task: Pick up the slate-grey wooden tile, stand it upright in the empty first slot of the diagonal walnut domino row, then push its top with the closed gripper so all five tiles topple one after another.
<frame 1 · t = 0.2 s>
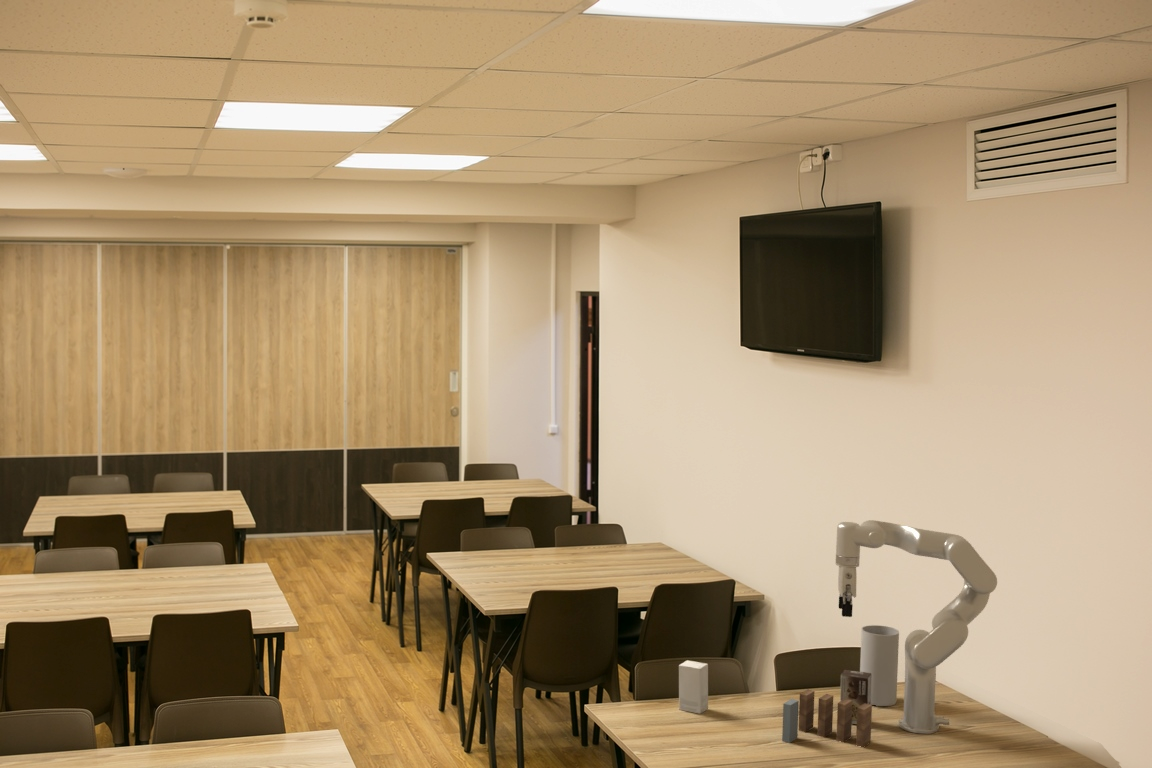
hand: (845, 612, 362), 37 cm above the table, tool pointing down, fingers open, 9 cm apart
coffee box: (854, 722, 365), on the table
domino 5: (863, 744, 346), on the table
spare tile: (789, 739, 349), on the table
cylinder vase: (877, 701, 386), on the table
domino 4: (843, 739, 350), on the table
skincare box: (692, 710, 374), on the table
domino 3: (824, 734, 354), on the table
domino 2: (805, 729, 358), on the table
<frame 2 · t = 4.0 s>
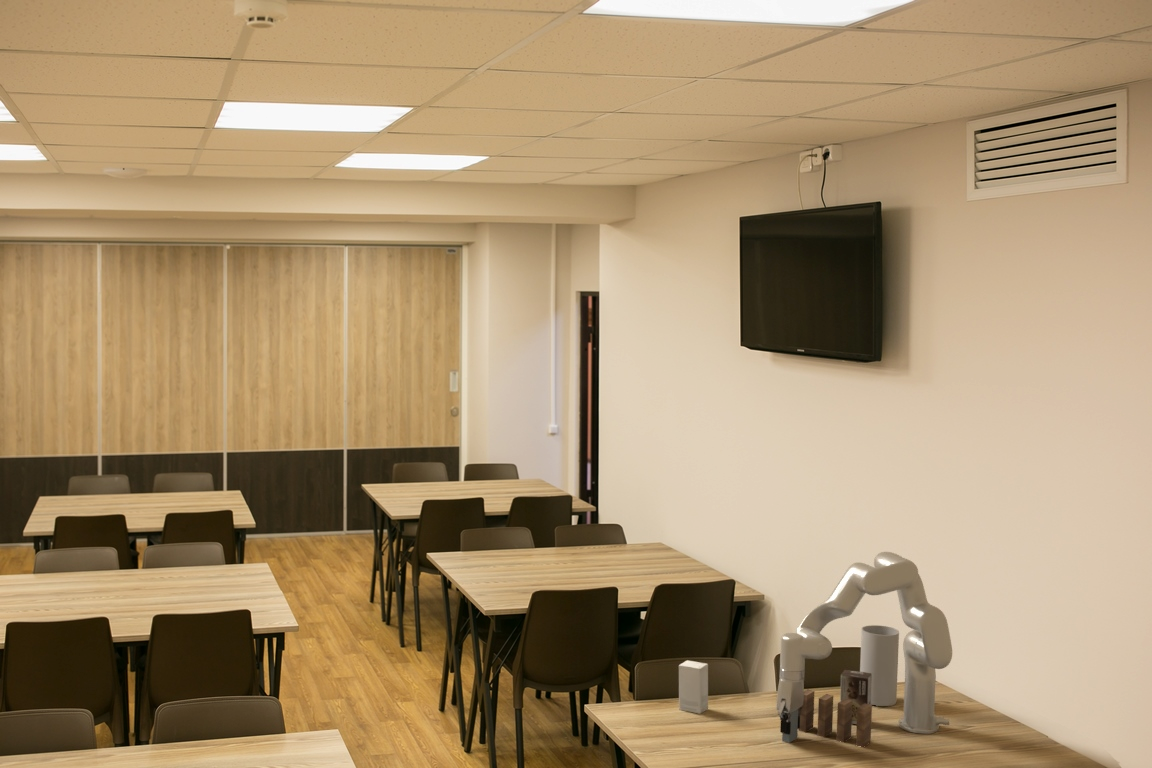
hand: (790, 730, 348), 3 cm above the table, tool pointing down, fingers closed on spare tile, 5 cm apart
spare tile: (789, 739, 349), on the table, touching gripper
everything else where it was.
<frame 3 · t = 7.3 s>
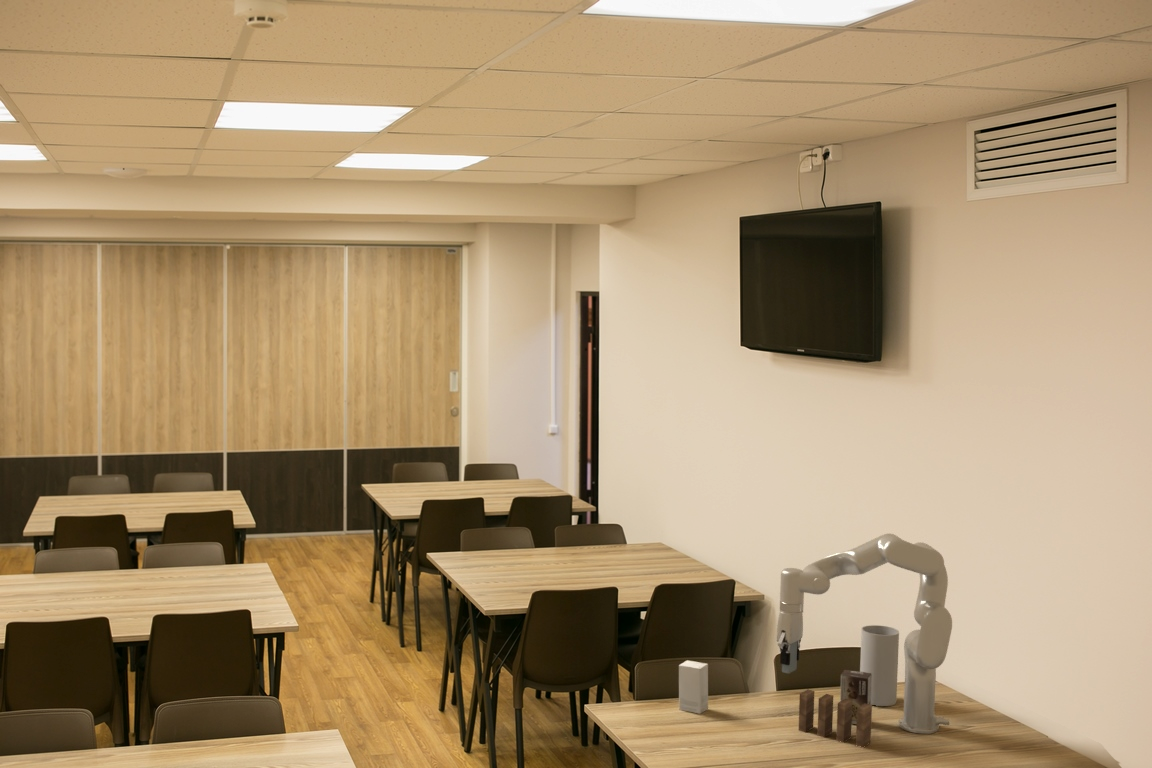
hand: (789, 661, 361), 21 cm above the table, tool pointing down, fingers closed on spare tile, 5 cm apart
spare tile: (789, 670, 361), point 18 cm above the table, touching gripper
everything else where it was.
when the fingers open (4 cm above the table, at t = 10.7 s): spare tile stays where it is, on the table.
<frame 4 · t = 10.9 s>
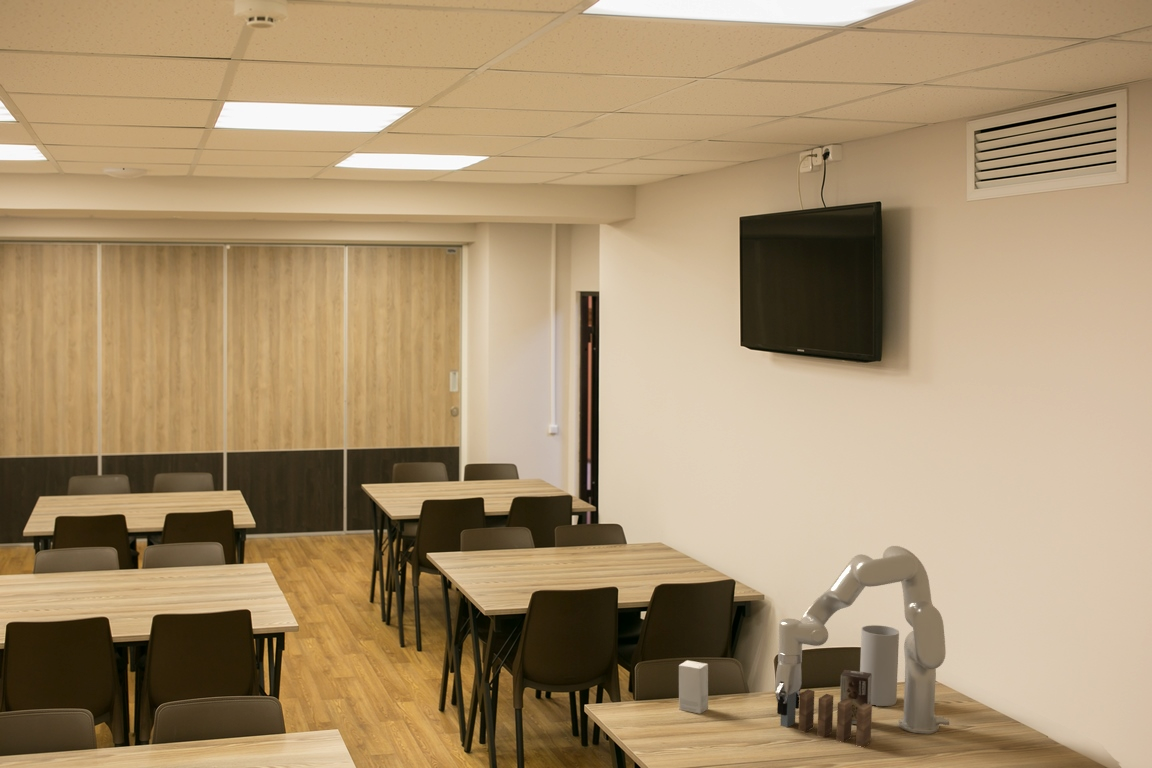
hand: (788, 710, 362), 4 cm above the table, tool pointing down, fingers open, 7 cm apart
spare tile: (787, 724, 362), on the table
everything else where it was.
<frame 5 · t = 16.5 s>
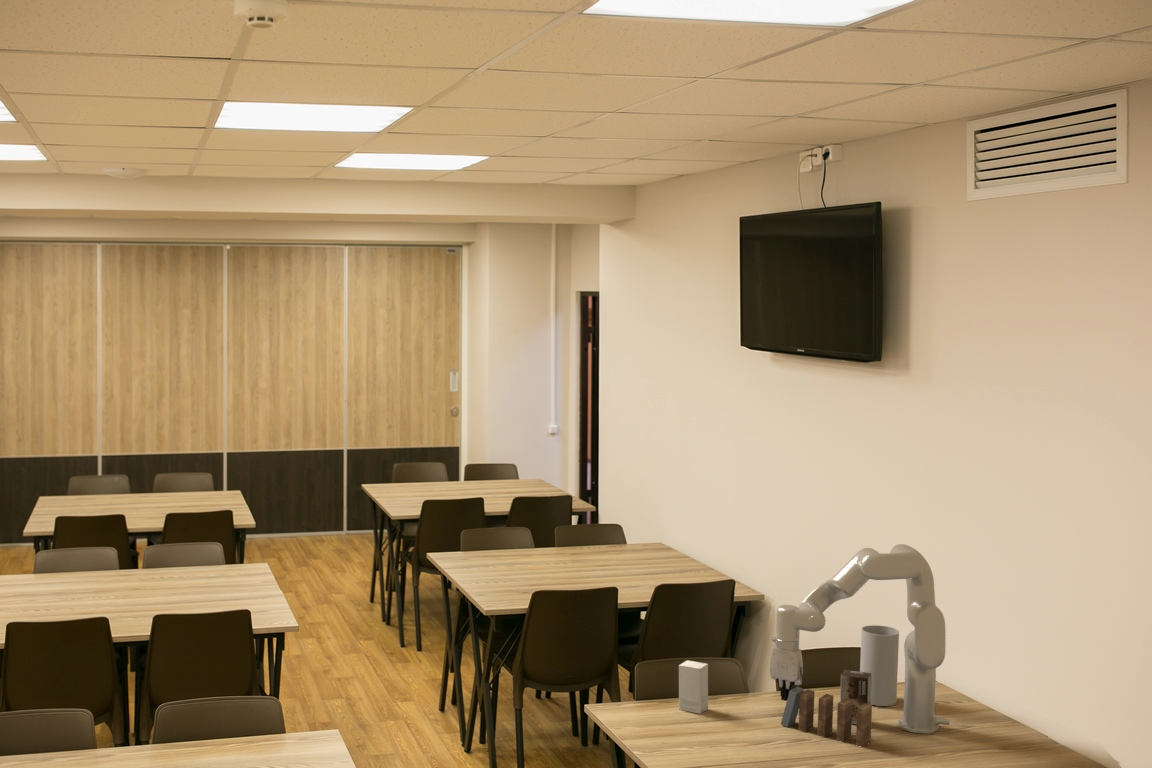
hand: (785, 699, 362), 8 cm above the table, tool pointing down, fingers closed
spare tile: (787, 723, 362), on the table, tilted 14°
everything else where it was.
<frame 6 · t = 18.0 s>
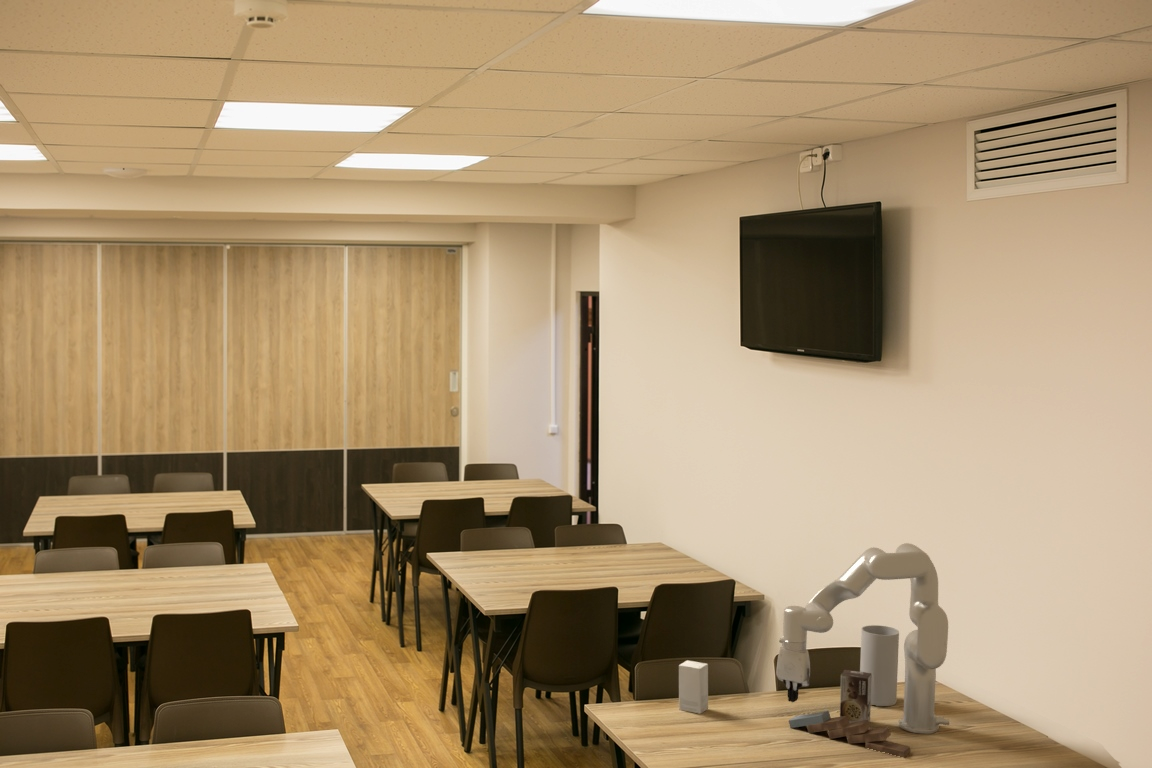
hand: (792, 700, 360), 8 cm above the table, tool pointing down, fingers closed
domino 5: (868, 743, 345), point 1 cm above the table, tilted 90°, touching domino 4
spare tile: (793, 721, 361), point 1 cm above the table, tilted 68°, touching domino 2
domino 4: (850, 737, 348), point 1 cm above the table, tilted 72°, touching domino 3, domino 5
domino 3: (831, 732, 352), point 1 cm above the table, tilted 67°, touching domino 2, domino 4
domino 2: (811, 726, 357), point 1 cm above the table, tilted 68°, touching domino 3, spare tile
everything else where it was.
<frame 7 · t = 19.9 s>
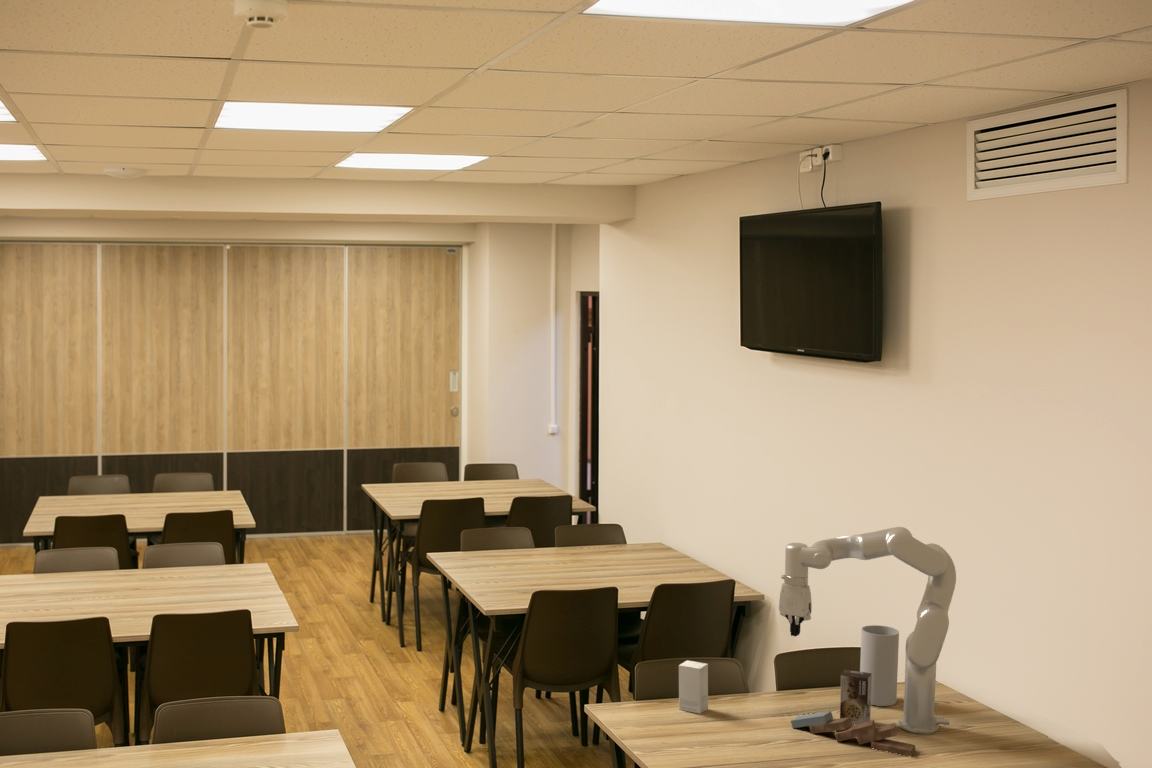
hand: (795, 635, 370), 27 cm above the table, tool pointing down, fingers closed
domino 5: (873, 743, 345), point 1 cm above the table, tilted 90°
domino 4: (858, 738, 347), point 1 cm above the table, tilted 69°, touching domino 3
domino 3: (837, 735, 350), point 1 cm above the table, tilted 68°, touching domino 2, domino 4
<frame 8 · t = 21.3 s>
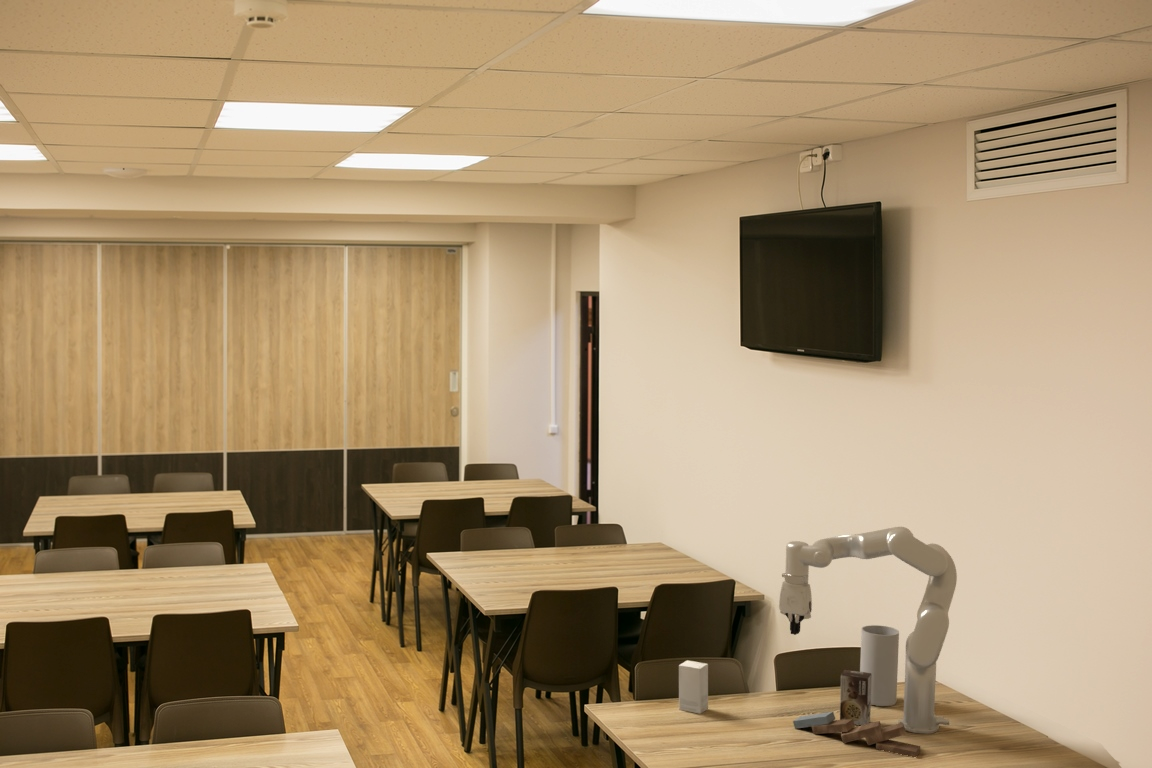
hand: (794, 633, 370), 27 cm above the table, tool pointing down, fingers closed
domino 5: (878, 744, 344), point 1 cm above the table, tilted 90°
domino 4: (866, 739, 346), point 1 cm above the table, tilted 67°
domino 3: (843, 736, 348), point 1 cm above the table, tilted 67°
domino 2: (816, 727, 356), point 1 cm above the table, tilted 72°, touching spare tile
at the end: domino 5 tilted 90°; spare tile tilted 69°; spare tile inside the target area (2.6 cm from its centre), point 1.1 cm above the table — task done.
